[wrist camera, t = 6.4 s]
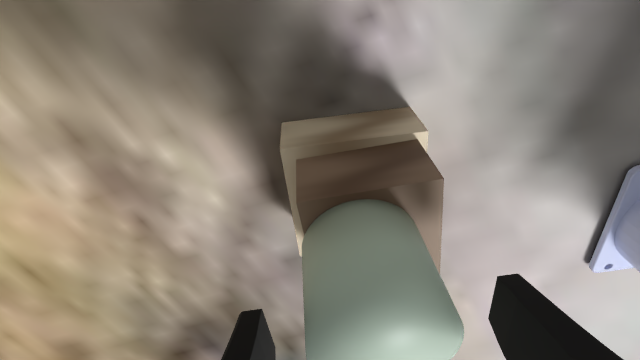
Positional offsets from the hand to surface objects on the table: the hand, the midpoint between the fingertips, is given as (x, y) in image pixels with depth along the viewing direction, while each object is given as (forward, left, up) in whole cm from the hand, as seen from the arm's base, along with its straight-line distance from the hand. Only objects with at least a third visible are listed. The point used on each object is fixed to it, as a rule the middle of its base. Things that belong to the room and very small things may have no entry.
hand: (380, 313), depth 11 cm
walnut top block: (0, 0, -6) cm, 6 cm away
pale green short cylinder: (0, 0, -3) cm, 3 cm away
